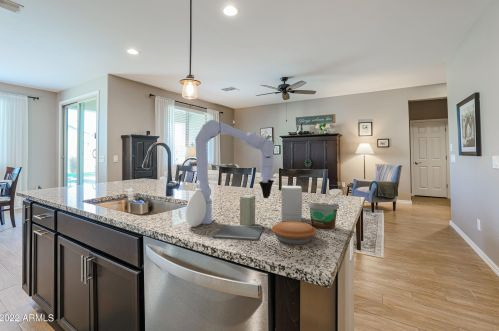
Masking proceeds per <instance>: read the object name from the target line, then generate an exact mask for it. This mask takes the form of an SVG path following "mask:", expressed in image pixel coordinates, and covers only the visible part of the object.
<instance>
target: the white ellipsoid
mask: <svg viewBox="0 0 499 331" xmlns="http://www.w3.org/2000/svg"><path fill="white" fill-rule="evenodd" d="M199 187H200V183H199V186H198V189H197V188H195V190H194V192H192V194H191V195H190V197H189V199H188V201H187V204H186V207H185V219H186V222H187V224H189V226H191V228H192V227H193V228H196V227H199V225H201V223H202V221H203V219H204V217H205V213H206V202H205V198H204V195H203V193H202V192H201V191H202V190H201V189H199Z"/></svg>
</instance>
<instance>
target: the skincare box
mask: <svg viewBox="0 0 499 331" xmlns="http://www.w3.org/2000/svg"><path fill="white" fill-rule="evenodd" d="M254 224H256V195H255V194H244V195H242V196H240V197H239V225H243V226H254Z"/></svg>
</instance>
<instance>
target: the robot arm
mask: <svg viewBox="0 0 499 331" xmlns="http://www.w3.org/2000/svg"><path fill="white" fill-rule="evenodd" d="M219 135H229V136H231V137H234V138H238V139H240V140H242V141H243V142H244V143H245V145H247V146H248V147H250V148H254V149H256V150H260V177H259V178H260V179H261V181H259V182H258V183H259V184H258V185H259V186H260V187H261V191H262V192H261V193H262V197H263V198H264V199H269V197H270V196H271V193H272V187H273V183H274V182H275V180H274V179H276V178H277V176H274V150H275V148H276V146H275V143H274V142H273V141H272V140H271V139H266V137H265V136H263V137H262V136H260V135H258V134H256V132H254V131H253V132H248V133H245V132H244V131H241V130H240V129H237V128H235V127H233V126H231V125H229V124H226V123H224V122H221V121H217V120H215V119H209V120H208V121H206V122H204V124H202V126H201V128H200V130H199V132H198V133H197V135H196V137H195V140H194V141H195V156H196V157H195V159H196V161H195V162H196V177H197V178H196V189H198V186H199V183H200V187H199V189H201V190H202V191H201V192H202V193H203V195H204V198H205V202H206V213H205V217H204V219H203V221H202V223H201V224H203V225H209V224H211V223H213V221H215V219H216V218H214V217H213V213H212V212H213V208H212V207H213V206H212V199H211V197H210V196H211V194H212V189H211V187H210V186H209V184H210V183H209V174H208V172H209V171H208V170H209V169H208V150H207V146H208V145H207V144H208V142H210V141H211V139H213V138H215V137H217V136H219ZM201 224H200V225H201Z"/></svg>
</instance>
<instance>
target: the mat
mask: <svg viewBox="0 0 499 331" xmlns="http://www.w3.org/2000/svg"><path fill="white" fill-rule="evenodd" d="M263 230H264V226H257V225H251V226H243V225H240V224H224V225H223V226H222V227H221V228H220V229H218V230H217V232H216V233H214V234H213V235H212V239H213V238H214V239H226V240H227V239H228V240H241V241H242V240H244V241H257V242H258V241H259V239H260V236H261V234H262V231H263Z"/></svg>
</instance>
